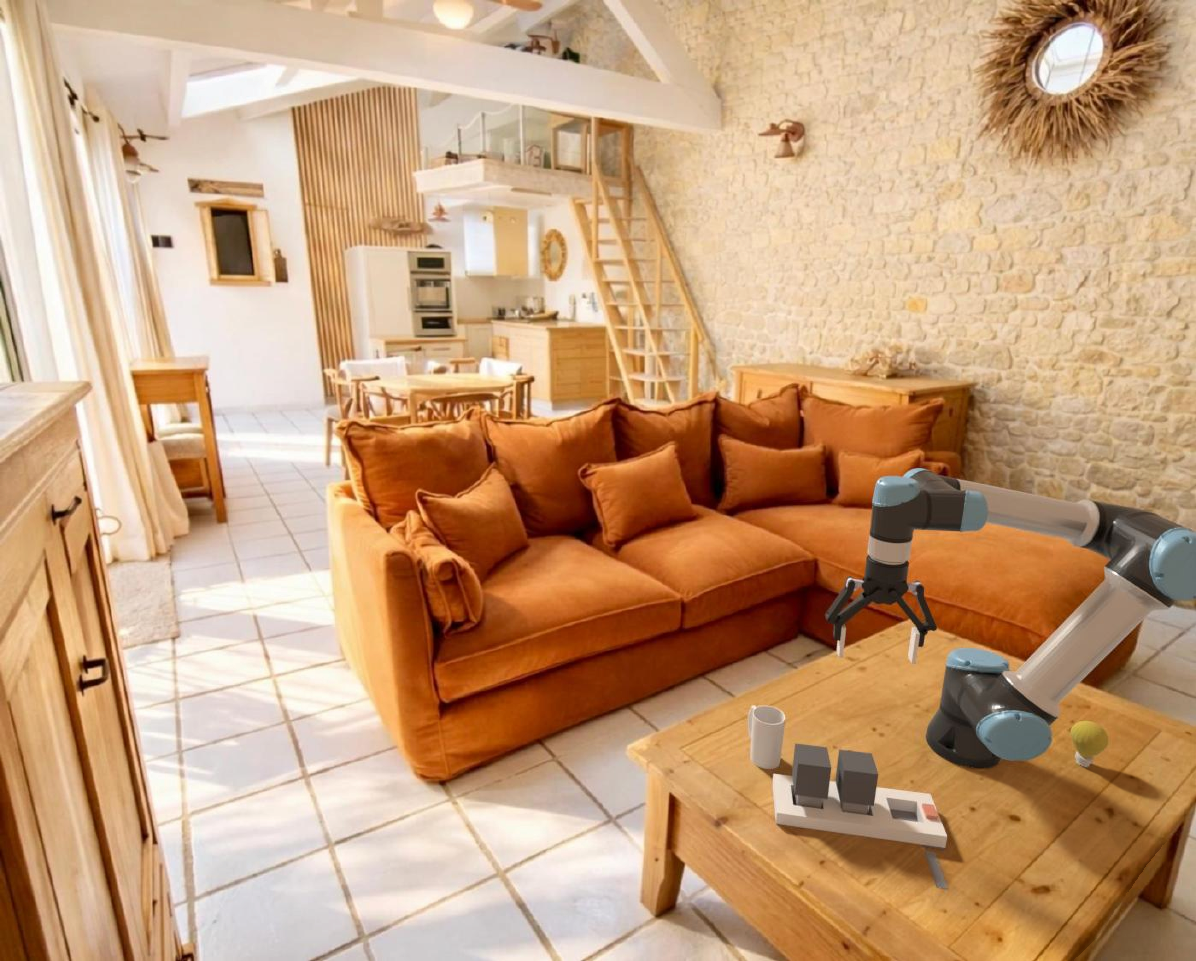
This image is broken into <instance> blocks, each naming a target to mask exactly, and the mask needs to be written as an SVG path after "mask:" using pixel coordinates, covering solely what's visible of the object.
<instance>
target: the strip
mask: <svg viewBox="0 0 1196 961" xmlns="http://www.w3.org/2000/svg"><path fill="white" fill-rule="evenodd" d="M771 785H772V795H773V806H774V808H773V809H774V817H775V818H774V819H775V825H781V826H787V827H795V828H802V829H808V830H816V831H821V832H829V833H830V832H831V833H835V834H837V833H838V834H843V835H850V836H858V837H864V838H873V839H880V840H886V841H892V842H899V843H900V842H901V843H906V844H913V845H914V844H915V845H921V846H922V848H923V847H924V848H930V849H936V850H942V851H946V846H947V841H948V834H947V832H946V829H945V827H944V825H943V822H942V820H941V817H940V814H939V812H938V810H937V807H936V804H935V801H934V799H933V798H932V795H931V793H923V792H918V791H917V792H916V791H911V790H909V791H908V790H903V789H902V790H901V789H893V788H886V787H878V786H877V788H876V794H875V801H874V806H868V809H867V815H863V814H855V813H848V812H842V808H841V804H840V799H839V794H838V790H837V785H836V781H835V780H830V783H829V792H828V799H822V805H821V809H819V808H811V807H804V806H797V805H795V800H794V796H795V793H794V785H793V778H792V775H788V774H787V775H786V774H780V773H779V774H778V773H772V784H771Z"/></svg>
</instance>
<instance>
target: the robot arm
mask: <svg viewBox="0 0 1196 961" xmlns="http://www.w3.org/2000/svg"><path fill="white" fill-rule="evenodd" d="M871 503H872V506H871V514H870V515H871V516H870V527H869V536H868V542H867V551H866V553H867V556H866V558H865V567H864V576H863V578H862V579H857V578H856V579H855V578H853V576H850V575H848V576H847V577H846V579H845V583H844V586H843V588H842V590H841V591H840V592H839V593H838V595H837V596H836V598H835V599H834V600H833V602H832V604H831V605H830V607H829V608H828V610H826V613H825V614H824V616H825V619H826V622H827V624H832V625H833V629H832V630H833V633H832V635H833V639H834V641H837V644H836V653H837V655H838V656H837V657H838V658H839V659H843V658H844V653H845V652H844V651H845V650H844V649H845V641H846V634H847V633H846V632H847V627H846V625H845V624H846V623H847V622H848V621H850V620H851V619H852V618H853V617H854V616H856V615H857V614H858V613H859V612H860V611H861V610H863V609H864V608H865V607H867V606H869V605H870V604H871V603H874V605H882V604H884V605H887V606H892V605H893V604H895V603H896V604H898V606H899V607H900V609H902V611H903V612H904V613H905V615H906V617H908V618H909V620H910V621H911V622H912V623H913V624H914V626H912V627H911V632H910V639H909V647H908V653H907V654H908V655H907V658H908V660H909V661H910V663H911V664H912V665H915V664H917V657H918V651H919V648H923V647H924V644H925V637H926V635H928V632H930V631H932V632H936V631H937V629H938V627H937V624H936V622H935V619H934V617H933V615H932V613H931V610H930V608H929V605H928V603H927V601H926V598H925V587H924V586H923V583H921V581H920V580H915V581H914V582H907V581H908V573H909V566H910V562H909V560H910V559H911V552H912V543H913V537H914V531H915V530H918V531H941V532H959V533H964V532H977V531H980V530H982V529H983V528H984V527H985V525H986V524H992V525H996V526H1001V527H1006V528H1010V529H1015V530H1019V531H1020V530H1021V531H1026V532H1030V533H1034V534H1039V535H1044V536H1050V537H1054V538H1059V539H1063V540H1066V541H1067V542H1068V543H1069V544H1070V545H1071V546H1073V547H1078V548H1080V549H1081V548H1082V549H1086V550H1088V551H1092V552H1094V553H1096V554H1098V555H1100V556H1103V557H1105V558H1106V559H1107V560H1109V561H1108V562H1107V563H1106V564H1105V565H1104V567H1103V572H1104V580H1103V581H1102V582H1101V583H1100V584H1099V585H1098V586H1097V587H1096V588H1095V589H1094V591H1092V593H1091V594H1089V596H1087V598H1086V599H1085V600H1083V602H1082V603H1081V604H1080V605H1079V606H1078V607H1077V608H1076V609H1075V610H1074V611H1073V612H1072V614H1070V615H1069V616H1068V617H1067V618H1066V620H1064V621H1063V622H1062V623H1061V624H1060V626H1058V628H1056V630H1055V631H1053V633H1051V635H1050V636H1049V637H1048V638H1047V639H1046V640H1045V641H1044V642H1043V643H1042V644H1041V645H1040V646H1039V647H1038V648H1037V649H1036V650H1035V651H1034V652H1033V653H1032V654H1031V655H1030V657H1029V658H1027V659H1026V661H1025V662H1024V663H1022V665H1020V667H1019V668H1018V669H1017V670H1010V663H1009V661H1008V660H1007V659H1006V658H1005V657H1004V656H1002V655H999V654H997V653H995V652H993V651H989V650H985V649H982V648H973V647H960V648H956V649H953V650H951V651H950V652H949V654H948V656H947V659H946V662H945V671H944V677H943V683H942V690H941V697H940V702H939V707H938V709H937V711H936V712H935V714H934V715H933V717H932V718H931V720H930V722H929V723H928V725H927V727H926V734H925V739H926V743H927V744H928V746H929V747H930V748H931V750H933V751H934V753H936V754H937V755H939V756H940V757H941V758H943V759H945V760H947V761H949V762H951V763H954V764H956V765H959V766H962V767H965V768H971V769H981V770H983V769H991V768H994V767H996V766H997V765H999V764H1000V762H1002V759H1003V760H1004V761H1005V760H1006V761H1012V762H1017V761H1022V762H1024V761H1026V762H1027V761H1031V760H1033V759H1036V758H1038V757H1040V756H1041V755H1043V754H1044V753H1046V752H1047V751H1048V750H1049V748H1050V746H1051V744H1052V741H1053V739H1052V737H1053V733H1052V732H1053V731H1052V729H1051V725H1052V724H1053V723H1054V722H1055V721H1056V720H1057V719H1058V718H1059V717H1060V708H1059V704H1060V703H1061V701H1063V700H1064V699H1065V698H1066V697H1067V696H1068V695H1069V694H1070V693H1071V692H1072V691H1073V690H1074V689H1075V688H1076V687H1077V686H1078V685H1079V684H1080V683H1081V682H1082V681H1083V680H1084V679H1085V678H1086V677H1087V676H1088V675H1089V674H1090V673H1091V672H1092V671H1093V670H1094V669H1095V668H1096V667H1097V666H1098V665H1099V664H1100V663H1101V662H1102V661H1103V660H1104V659H1106V657H1107V656H1108V655H1109V654H1110V653H1111V652H1113V650H1114V649H1115V648H1117V646H1119V644H1121V642H1122V641H1124V639H1125V638H1126V637H1127V636H1128V635H1129V634H1130V633H1131V632H1133V630H1134V629H1136V628H1137V627H1138V625H1139V624H1141V622H1142V621H1144V619H1145V618H1146V617H1147V616H1148V615H1149V614H1150V613H1152V612H1153V611H1160V610H1161V611H1163V610H1170V609H1171V607H1172V606H1173V605H1174V604H1175V603H1176V602H1177V601H1180V602H1181V601H1183V602H1190V601H1192V600H1193V599H1195V600H1196V531H1194V530H1192V529H1191V528H1188V527H1185V526H1183V525H1180V524H1179V523H1177V522H1174V521H1171V520H1169V519H1167V518H1165V517H1162V516H1161V515H1159V514H1157V513H1154V512H1152V511H1150V510H1145V509H1142V508H1138V507H1137V508H1136V507H1130V506H1124V505H1119V504H1114V503H1113V504H1112V503H1106V502H1101V501H1094V500H1091V499H1083V500H1082V499H1081V500H1079V501H1077V502H1074V501H1069V500H1065V499H1059V498H1054V497H1049V496H1044V495H1039V494H1036V493H1034V494H1033V493H1031V492H1030V493H1029V492H1026V491H1025V492H1024V491H1019V490H1014V489H1009V488H1004V487H1001V486H994V485H990V484H984V483H980V482H975V481H969V480H965V479H959V478H953V477H951V476H946V475H945V476H944V475H940V474H936V473H934V472H933V471H932V470H929V469H926V468H922V467H921V468H920V467H919V468H918V467H916V468H912V469H910V470H908V471H907V472H906V473H904V474H903V476H899V475H886V476H882V477H880V478H878V480H877V481H876V483H875V486H874V492H873V496H872V499H871ZM859 588H862V591H861V592H860V593H859V595H858V597H856V598H855V599H854V600H853V601H851V602H850V603H849V604H848V605H847V606H846V604H847V603H848V601H849V600H850V599H851V597H852V595H853V594H854V592H856V591H857V590H858V589H859ZM908 591H910V593H911V594H913V595H914V596H915V598H916V602H917V604H918V607H919V608H920V610H921V613H922V615H923V617H924V618H923V619H924V620H925V621H924V622H922V621H921V620H920V618H919V617H918V615H917V614H916V613H915V611H914V610H913V609H912V608H911V607H910V605H909V604H908V603H907V602H906V600H905V599H904V597H903V596H904V595H905V594H906V593H907V592H908ZM844 607H845V608H844Z"/></svg>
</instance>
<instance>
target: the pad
mask: <svg viewBox="0 0 1196 961" xmlns="http://www.w3.org/2000/svg"><path fill="white" fill-rule="evenodd" d="M923 852H924V855H925V859H926V860H927V863H928V866H929V869H930V873H931V875H932V878H933V881H934V883H935V887H936V888H939V889H944V890H948V889H949V887H948V884H947V881H946V880H945V877H944V873H943V872H942V871H943V870H942V868H941V865H940V862H939V860H938V857H937V855H936V852H935V851H928V850H924V851H923Z"/></svg>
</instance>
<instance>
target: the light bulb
mask: <svg viewBox="0 0 1196 961" xmlns="http://www.w3.org/2000/svg"><path fill="white" fill-rule="evenodd" d="M1069 734H1070V735H1069V736H1070V738H1071V740H1072V743H1073V745H1074V748H1075V749H1076V751H1075V754H1074V758H1075V759H1076V764H1077V763H1078V764H1077V765H1079V766H1080V765H1081V766H1080V767H1083V766H1084V768H1089V767H1090V765H1091V764H1093V763H1094V757H1095V756H1097V755H1099V754H1100V753H1102V752H1103V751H1104V750H1106V749H1107V747H1108V745H1109V736H1108V733H1107V732H1106V730H1105V729H1104V728H1103V727H1102V726H1101V725H1099V724H1098V723H1096V722H1094V721H1090V720H1082V721H1078V722H1076V723H1074V725H1073V726H1072V727H1071V728H1070V732H1069Z"/></svg>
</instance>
